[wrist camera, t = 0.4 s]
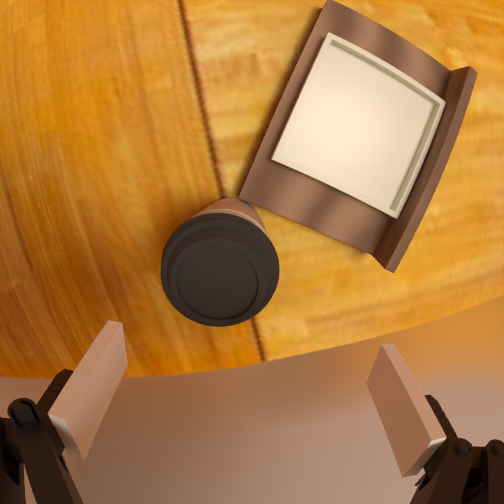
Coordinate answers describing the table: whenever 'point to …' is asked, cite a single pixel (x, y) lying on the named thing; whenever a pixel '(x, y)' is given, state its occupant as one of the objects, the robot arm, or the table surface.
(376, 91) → the tray
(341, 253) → the table surface
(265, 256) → the coffee cup
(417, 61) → the shelf
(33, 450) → the robot arm
